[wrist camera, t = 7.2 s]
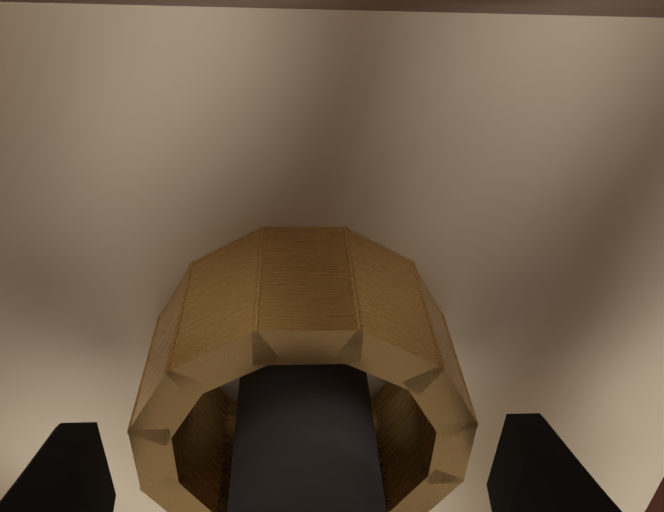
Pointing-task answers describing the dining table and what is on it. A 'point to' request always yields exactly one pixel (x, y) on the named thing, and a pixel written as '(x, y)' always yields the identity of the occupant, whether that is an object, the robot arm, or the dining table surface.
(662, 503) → the dining table surface
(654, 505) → the dining table surface
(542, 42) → the piston block
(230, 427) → the wooden ring
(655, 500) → the dining table surface
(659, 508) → the dining table surface
